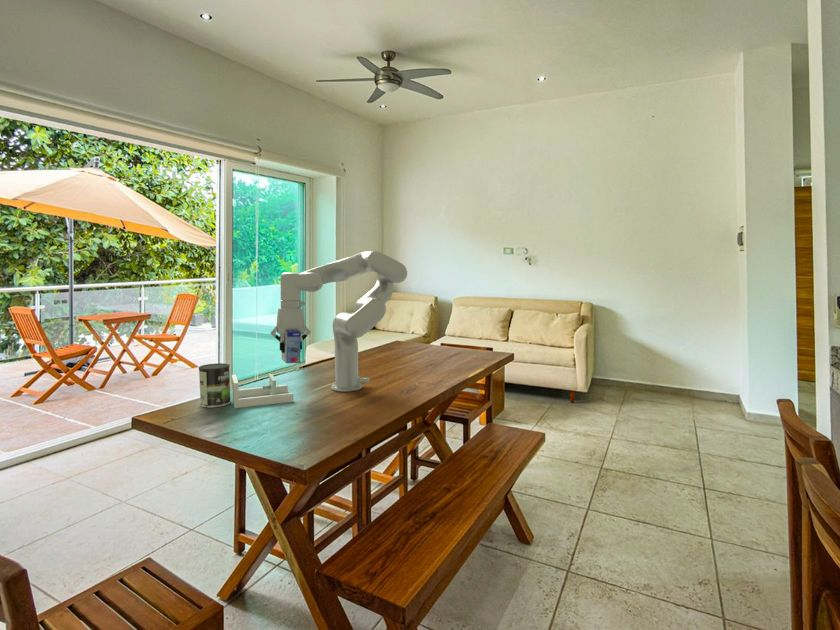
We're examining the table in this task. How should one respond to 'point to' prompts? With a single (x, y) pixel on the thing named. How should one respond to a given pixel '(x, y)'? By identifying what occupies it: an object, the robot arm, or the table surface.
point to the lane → (259, 400)
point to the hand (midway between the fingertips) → (290, 351)
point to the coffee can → (214, 385)
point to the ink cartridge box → (291, 347)
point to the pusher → (271, 385)
